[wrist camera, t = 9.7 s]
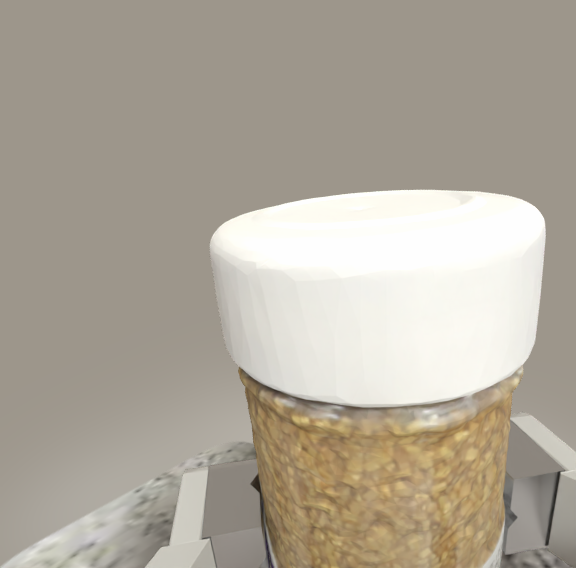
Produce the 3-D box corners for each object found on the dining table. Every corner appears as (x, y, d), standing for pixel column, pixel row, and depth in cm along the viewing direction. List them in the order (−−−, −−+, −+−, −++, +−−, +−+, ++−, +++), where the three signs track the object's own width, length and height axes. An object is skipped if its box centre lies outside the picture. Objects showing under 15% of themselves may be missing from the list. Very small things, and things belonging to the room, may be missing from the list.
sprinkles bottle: (273, 669, 11) (185, 212, 7) (401, 596, 12) (395, 182, 8) (352, 964, 7) (255, 264, 3) (531, 805, 8) (653, 185, 4)
